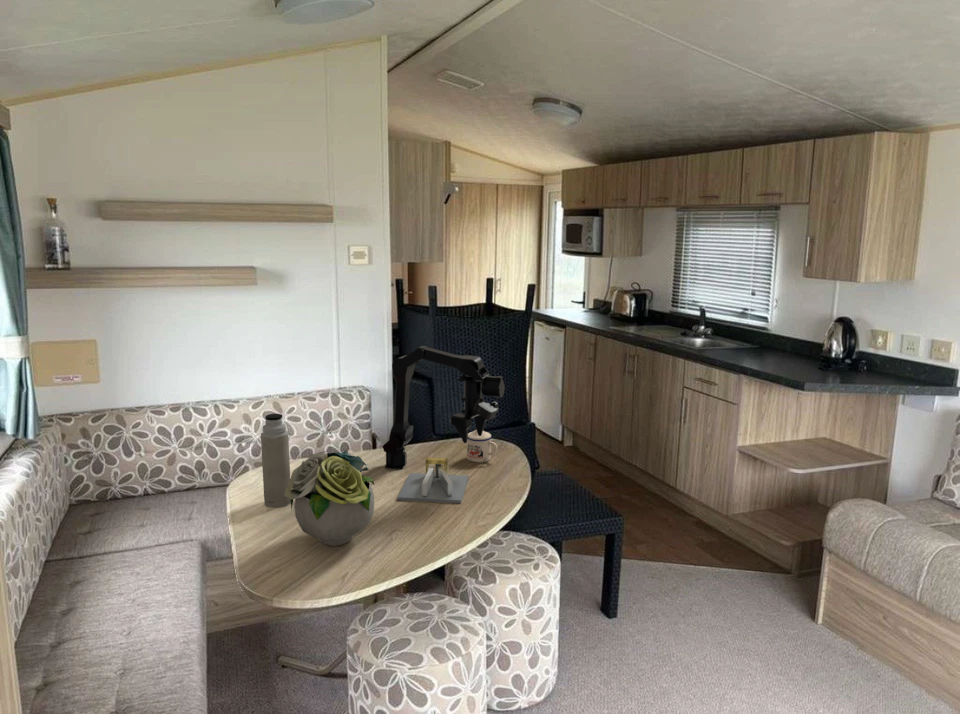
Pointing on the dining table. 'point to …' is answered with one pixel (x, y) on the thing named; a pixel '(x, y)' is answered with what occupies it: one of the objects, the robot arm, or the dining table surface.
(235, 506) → the dining table surface
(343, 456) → the flower arrangement
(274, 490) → the thermos bottle
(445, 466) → the lock collar
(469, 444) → the teacup with lid
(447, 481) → the tong arm
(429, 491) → the tongs base
